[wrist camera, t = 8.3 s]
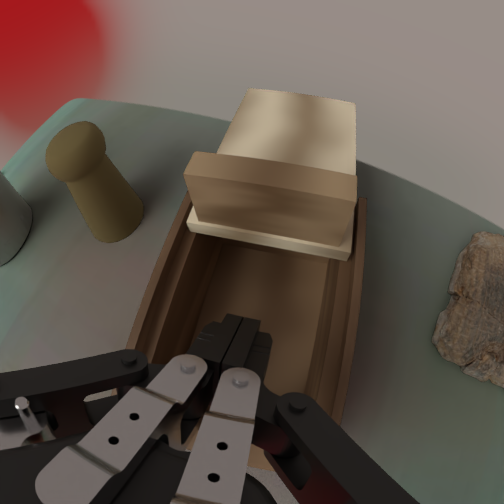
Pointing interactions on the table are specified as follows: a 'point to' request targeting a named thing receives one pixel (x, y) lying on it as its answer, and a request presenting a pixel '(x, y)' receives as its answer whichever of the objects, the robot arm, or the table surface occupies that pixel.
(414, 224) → the table surface
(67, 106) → the table surface
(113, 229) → the tan pawn
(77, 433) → the robot arm
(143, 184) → the table surface
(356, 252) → the lid box
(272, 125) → the cover plate
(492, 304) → the clay tablet
